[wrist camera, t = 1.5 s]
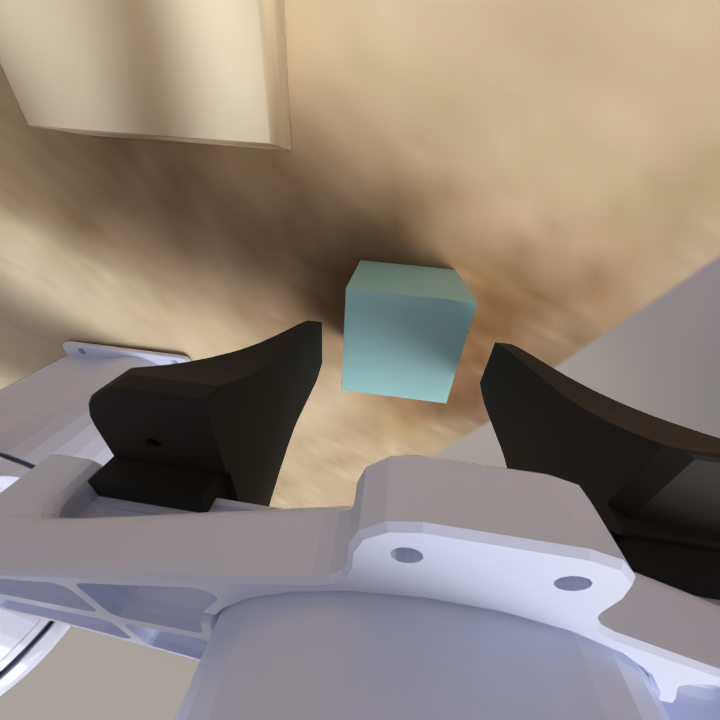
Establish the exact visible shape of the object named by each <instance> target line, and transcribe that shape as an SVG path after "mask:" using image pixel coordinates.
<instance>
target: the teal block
mask: <svg viewBox="0 0 720 720" xmlns="http://www.w3.org/2000/svg"><path fill="white" fill-rule="evenodd" d="M476 305H477V301H476V300H475V298H474V297H473V295H472V294H471V292H470V291H469V289H468V288H467V286H466V285H465V284H464V282H463V281H462V279H461V278H460V276H459V275H458V273H457V272H456V270H455V269H445V268H435V267H425V266H414V265H404V264H394V263H384V262H374V261H364V260H360V262H359V264H358V266H357V268H356V270H355V272H354V274H353V276H352V278H351V280H350V281H349V283H348V285H347V287H346V298H345V321H344V345H343V369H342V390H347V391H355V392H363V393H371V394H378V395H386V396H394V397H402V398H409V399H417V400H425V401H433V402H440V403H446V402H447V399H448V395H449V392H450V389H451V386H452V382H453V379H454V376H455V373H456V370H457V366H458V363H459V360H460V357H461V353H462V350H463V347H464V344H465V341H466V337H467V334H468V331H469V328H470V325H471V321H472V318H473V315H474V312H475V308H476Z"/></svg>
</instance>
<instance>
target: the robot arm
mask: <svg viewBox="0 0 720 720" xmlns="http://www.w3.org/2000/svg"><path fill="white" fill-rule="evenodd" d="M62 347H63V349H64V351H65V353H66V354H67V356H66V357H64V358H62V359H60V360H58V361H56V362H54V363H52V364H50V365H48V366H46V367H44V368H42V369H40V370H38V371H36V372H34V373H32V374H30V375H28V376H26V377H24V378H22V379H20V380H18V381H16V382H15V383H13V384H11V385H9V386H7V387H5V388H3V389H1V390H0V696H1V695H2V694H3V693H4V692H6V691H7V690H8V689H10V688H11V687H12V686H14V685H15V684H16V683H17V682H18V681H20V680H21V679H22V678H23V677H24V676H25V675H26V674H27V673H29V672H30V671H31V670H32V669H33V668H34V667H35V666H36V665H37V664H38V663H39V662H40V661H41V660H42V659H43V657H45V656H46V654H48V652H49V651H50V650H51V649H52V648H53V647H54V646H55V644H56V643H57V642H58V641H59V640H60V639H61V638H62V636H63V635H64V634H65V633H66V631H67V630H68V629H69V627H70V626H74V627H78V628H82V629H86V630H90V631H93V632H97V633H101V634H105V635H108V636H112V637H116V638H120V639H123V640H126V641H130V642H134V643H137V644H141V645H144V646H148V647H152V648H155V649H159V650H162V651H166V652H170V653H173V654H177V655H181V656H184V657H188V658H192V659H195V660H199V661H200V662H199V664H198V666H197V669H196V671H195V674H194V676H193V678H192V681H191V683H190V685H189V688H188V690H187V693H186V695H185V697H184V700H183V702H182V704H181V707H180V709H179V712H178V714H177V716H176V719H175V720H720V438H717V437H713V436H710V435H707V434H704V433H700V432H698V431H694V430H692V429H688V428H686V427H683V426H679V425H677V424H674V423H671V422H668V421H665V420H662V419H659V418H657V417H654V416H651V415H649V414H647V413H644V412H641V411H639V410H636V409H634V408H631V407H629V406H626V405H624V404H621V403H620V402H617V401H615V400H613V399H610V398H608V397H606V396H604V395H602V394H600V393H598V392H596V391H594V390H592V389H590V388H587V387H586V386H584V385H582V384H580V383H578V382H576V381H574V380H573V379H571V378H569V377H567V376H565V375H564V374H562V373H560V372H559V371H557V370H555V369H554V368H552V367H550V366H549V365H547V364H545V363H544V362H542V361H540V360H539V359H537V358H535V357H534V356H532V355H531V354H529V353H527V352H525V351H524V350H522V349H520V348H518V347H516V346H514V345H512V344H505V343H496V342H495V345H494V347H493V350H492V353H491V355H490V358H489V361H488V363H487V366H486V368H485V371H484V374H483V376H482V379H481V382H480V385H481V391H482V396H483V400H484V404H485V407H486V409H487V412H488V415H489V418H490V420H491V423H492V425H493V428H494V430H495V433H496V436H497V438H498V441H499V443H500V446H501V448H502V452H503V455H504V458H505V461H506V465H507V468H501V467H493V466H487V465H480V464H473V463H466V462H459V461H453V460H446V459H438V458H432V457H425V456H418V455H414V456H390V457H388V458H386V459H384V460H381V461H379V462H377V463H375V464H372V465H370V466H368V467H366V469H365V470H364V472H363V474H362V475H361V477H360V479H359V481H358V482H357V488H356V495H355V502H354V505H353V506H339V507H316V508H293V509H281V508H275V507H269V504H270V501H271V497H272V494H273V491H274V487H275V484H276V481H277V478H278V474H279V471H280V468H281V465H282V462H283V459H284V456H285V453H286V450H287V447H288V444H289V441H290V438H291V435H292V432H293V430H294V427H295V425H296V422H297V420H298V418H299V416H300V414H301V412H302V410H303V408H304V406H305V403H306V401H307V399H308V397H309V395H310V393H311V391H312V389H313V387H314V385H315V383H316V380H317V377H318V374H319V371H320V368H321V364H322V322H315V321H305V322H303V323H300V324H298V325H296V326H294V327H292V328H290V329H288V330H286V331H284V332H282V333H280V334H278V335H276V336H274V337H272V338H269V339H267V340H265V341H263V342H260V343H258V344H255V345H253V346H250V347H247V348H244V349H241V350H238V351H235V352H231V353H227V354H223V355H219V356H215V357H211V358H206V359H201V360H196V361H191V360H190V359H189V358H188V357H186V356H184V355H177V354H169V353H161V352H153V351H145V350H137V349H129V348H121V347H113V346H105V345H97V344H89V343H81V342H73V341H68V342H66V343H64V344H63V345H62ZM175 360H176V361H177V362H176V361H175Z"/></svg>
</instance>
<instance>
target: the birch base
mask: <svg viewBox="0 0 720 720" xmlns="http://www.w3.org/2000/svg"><path fill="white" fill-rule="evenodd" d="M0 63H1V65H2V68H3V70H4V72H5V74H6V77H7V79H8V81H9V83H10V86H11V88H12V90H13V92H14V95H15V97H16V99H17V101H18V104H19V106H20V108H21V110H22V113H23V115H24V117H25V119H26V122H27V124H28V126H34V127H40V128H46V129H52V130H58V131H64V132H70V133H76V134H82V135H89V136H103V137H116V138H129V139H143V140H156V141H169V142H183V143H196V144H209V145H222V146H236V147H249V148H262V149H276V150H289V151H291V137H290V118H289V99H288V79H287V60H286V41H285V22H284V3H283V0H0Z"/></svg>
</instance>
